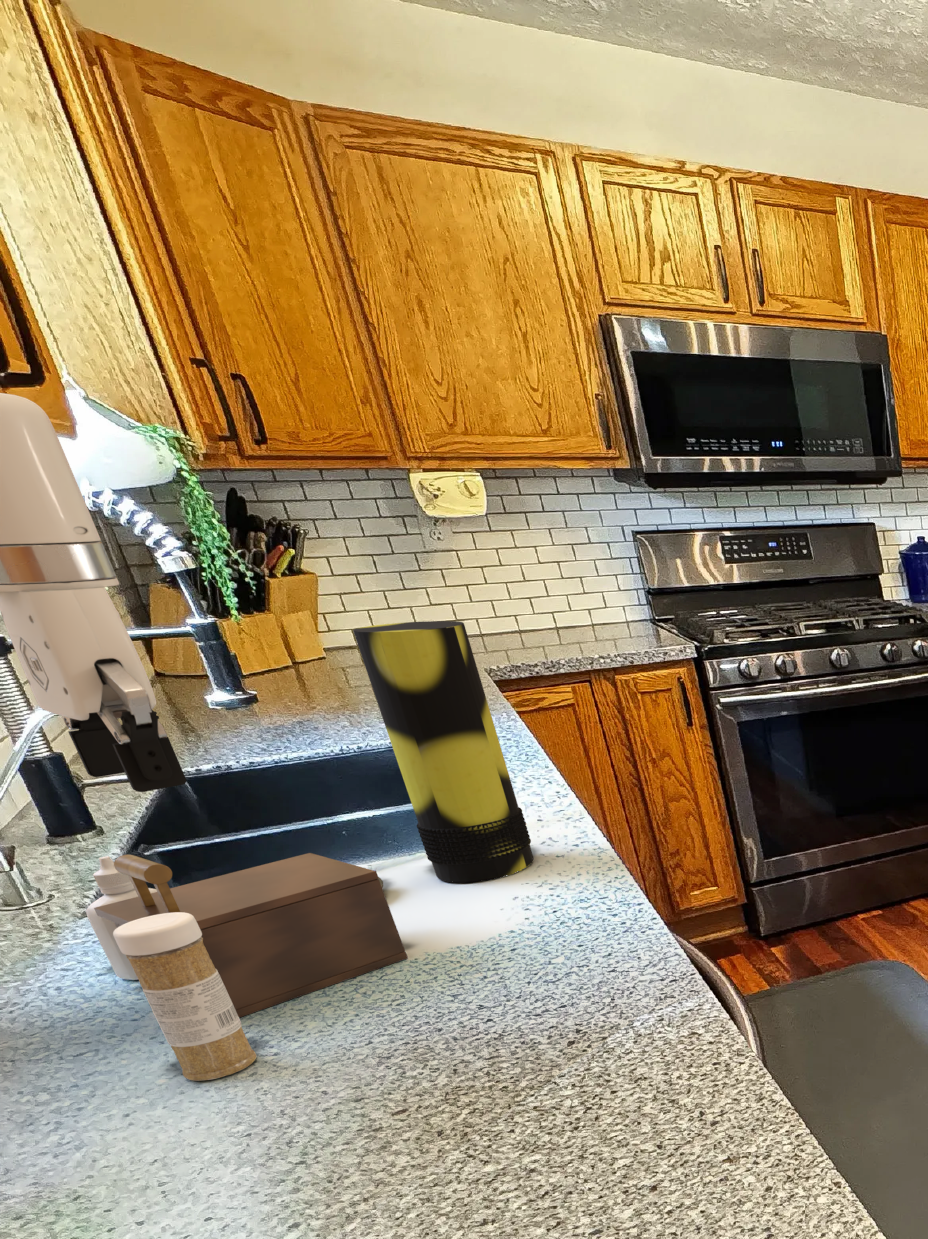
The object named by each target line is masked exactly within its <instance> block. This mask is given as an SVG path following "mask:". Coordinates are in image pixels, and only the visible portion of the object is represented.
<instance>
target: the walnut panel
mask: <svg viewBox="0 0 928 1239" xmlns="http://www.w3.org/2000/svg"><path fill="white" fill-rule="evenodd" d="M113 862H114V867H115V869H116V870H117V871H118V872H120V873H122V874H125V875H128V876H129V878H130V880H131V882H132V885H133V887H134V889H135V891H136V893H137V895H138V897H135V898H131V899H127V900H123V901H119V902H115V903H111V904H107V905H103V906H99V907H96V908H94V909H95V911H96V914H97V916H100V917H102V918H105V919H107V920H110V921H112V922H115V923H117V924H120V925H123V924H125V923H128V922H131V921H134V920H137V919H140V918H144V917H148V916H152V915H158V914H164V913H173V912H184V913H189V914H191V915H193V916H194V918H195V920H196V922H197V924H198V926H199V928H200V929H204V928H207V927H211V926H214V925H218V924H221V923H225V922H228V921H232V920H235V919H239V918H242V917H246V916H249V915H253V914H256V913H260V912H263V911H267V910H270V909H274V908H277V907H281V906H284V905H288V904H291V903H295V902H298V901H302V900H305V899H308V898H312V897H315V896H319V895H322V894H326V893H329V892H333V891H336V890H340V889H343V888H347V887H350V886H354V885H357V884H361V883H364V882H368V881H371V880H375V879H378V877H379V876H378V873H377V870H373V869H371V868H366V867H362V866H358V865H355V864H352V863H349V862H344V861H341V860H337V859H335V858H334V859H333V858H330V857H328V856H327V857H326V856H322V855H319V854H315V853H312V852H308V853H304V854H300V855H296V856H292V857H288V858H285V859H281V860H276V861H273V862H269V863H268V862H267V863H265V864H261V865H257V866H252V867H249V868H245V869H242V870H237V871H233V872H228V873H226V874H222V875H221V874H220V875H217V876H213V877H210V878H206V879H201V880H198V881H194V882H190V883H187V884H182V885H179V886H175V887H174V886H173V887H170V886H169V884H168V883H169V882H170V881H171V879H172V878H173V871H172V869H171V868H170V867H169V866H167V865H166V864H162V863H159V862H156V861H153V860H149V859H147V858H144V857H141V856H138V855H135V854H122V855H120V856H118V857H117V858H116V859H115V860H114V861H113ZM147 883H149V884H152V885H153V887H154V889H156V890H157V892H154V893H150V891H149V889H148V888H149V887H148V885H147Z"/></svg>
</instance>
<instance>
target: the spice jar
mask: <svg viewBox="0 0 928 1239" xmlns="http://www.w3.org/2000/svg"><path fill="white" fill-rule="evenodd" d="M113 936H114V938H115V940H116V943H117V945H118V947H119V949H120V951H121V952H122V953H123V954H125V955H126V957H127V958H128V959H129V961H130V963H131V965H132V967H133V969H134V972H135V973H136V975H137V977H138V981H139V984H140V986H141V988H142V992H143V994H144V997H145V998H146V1000H147V1003H148V1004H149V1006H150V1008H151V1011H152V1013H153V1015H154V1017H155V1020H156V1022H157V1024H158V1025H159V1028H160V1030H161V1032H162V1033H163V1036H164V1038H165V1040H166V1042H167V1044H168V1045H170V1048H171V1050H172V1051H173V1053H174V1055H175V1057H176V1059H177V1061H178V1063H179V1066H180V1067H181V1069H182V1076H183V1077H184V1078H185V1079H187V1080H189V1081H198V1082H200V1081H210V1080H216V1079H217V1080H218V1079H220V1078H224V1077H226V1076H230V1075H234V1074H236V1073H238V1072H240V1071H242V1070H244V1069H246V1068H248V1067H250V1066H251V1065H252V1064H253V1063H254V1062H255V1061H256V1059H257V1054H256V1052H255V1050H254V1049H253V1048H252V1046H251V1045H250V1043H249V1041H248V1037H247V1036H246V1035H245V1034H246V1033H245V1032H244V1028H243V1027H242V1026H243V1025H242V1021H241V1019H240V1018H239V1017H238V1015H237V1012H236V1010H235V1008H234V1006H233V1003H232V1001H231V999H230V997H229V995H228V992H227V990H226V988H225V986H224V984H223V981H222V979H221V977H220V975H219V973H218V971H217V969H215V967H214V965H213V963H212V961H211V959H210V957H209V954H208V952H207V950H206V948H205V946H204V944H203V938H202V937H201V936H202V932H201V930H200V928H199V926H198V924H197V922H196V920H195V918H194V916H193V915H191V914H189V913H184V912H173V913H164V914H158V915H152V916H148V917H144V918H140V919H137V920H134V921H131V922H128V923H125V924H123V925H121V926H119V927H118V928H116V929H115V930H114V932H113Z"/></svg>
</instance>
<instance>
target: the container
mask: <svg viewBox="0 0 928 1239" xmlns="http://www.w3.org/2000/svg"><path fill="white" fill-rule="evenodd" d="M352 633H353V636H354V638H355V640H356V644H357V646H358V650H359V652H360V656H361V659H362V661H363V664H364V668H365V670H366V673H367V677H368V679H369V682H370V685H371V687H372V691H373V694H374V697H375V700H376V703H377V705H378V708H379V712H380V714H381V717H382V720H383V723H384V726H385V730H386V733H387V735H388V739H389V741H390V744H391V747H392V750H393V753H394V755H395V758H396V762H397V765H398V768H399V771H400V774H401V776H402V779H403V782H404V785H405V788H406V792H407V794H408V797H409V800H410V804H411V805H412V809H413V812H414V815H415V818H416V820H417V824H416V828H417V830H418V832H417V833H418V834H419V837H420V841H421V842H422V846H423V849H424V851H425V855H426V858H427V860H428V861H429V862H431V865H432V867H433V871H434V873H435V875H436V877H437V879H438V880H440V881H443V882H446V883H450V884H451V883H452V884H469V883H470V884H471V883H479V882H487V881H491V880H490V879H492V880H497V879H501V878H504V877H503V876H505V877H507V876H506V875H508V876H512V875H514V873H515V872H517V871H519V872H521V871H523V870H522V869H524V868H526V867H527V868H529V867H530V866H531V865H532V864H533V863H534V859H535V858H534V855H533V851H532V848H531V844H532V839H531V838H530V834H529V830H528V826H527V823H526V821H525V817H524V813H523V809H522V808H521V807H519V804H518V800H517V797H516V794H515V790H514V787H513V784H512V781H511V777H510V773H509V771H508V768H507V764H506V760H505V757H504V753H503V750H502V747H501V744H500V740H499V736H498V734H497V730H496V725H495V723H494V720H493V717H492V713H491V709H490V706H489V703H488V700H487V696H486V693H485V690H484V686H483V683H482V680H481V676H480V673H479V669H478V665H477V663H476V659H475V656H474V652H473V648H472V645H471V642H470V639H469V636H468V632H467V629H466V625H465V623H464V622H463V621H457V620H432V621H431V620H428V621H423V620H422V621H409V622H408V621H406V622H396V623H383V624H374V625H368V626H362V627H361V626H360V627H356V628H354V629H353V630H352ZM530 864H531V865H530ZM529 865H530V866H529ZM528 866H529V867H528ZM527 868H526V869H527ZM524 870H525V869H524ZM517 873H518V872H517ZM515 874H516V873H515ZM500 877H501V878H500Z"/></svg>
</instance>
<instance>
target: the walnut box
mask: <svg viewBox="0 0 928 1239" xmlns="http://www.w3.org/2000/svg"><path fill="white" fill-rule="evenodd" d="M114 923H115V922H114ZM115 925H116V927H117V928H118V927H119V926H121V925H120V924H117V923H115ZM200 930H201V932H202V936H201V937H202V938H203V944H204V946H205V948H206V950H207V952H208V954H209V957H210V959H211V961H212V963H213V965H214V967H215V969H217V971H218V973H219V975H220V977H221V979H222V981H223V984H224V986H225V988H226V990H227V992H228V995H229V997H230V999H231V1001H232V1003H233V1006H234V1008H235V1010H236V1012H237V1015H238V1017H239V1019H240V1018H243V1017H246V1016H248V1015H252V1014H253V1013H256V1012H257V1013H258V1012H260V1011H262V1010H265V1009H269V1008H270V1007H273V1006H276V1005H279V1004H282V1003H285V1002H288V1001H291V1000H293V999H296V998H299V997H302V996H306V995H308V994H311V993H313V992H316V991H320V990H322V989H325V988H327V987H331V986H333V985H336V984H340V983H341V982H345V981H347V980H351V979H353V978H356V977H359V976H362V975H364V974H368V973H370V972H374V971H376V970H379V969H381V968H384V967H387V966H391V965H393V964H396V963H398V962H402V961H405V960H407V959H409V958H408V954H407V953H406V949H405V947H404V944H403V940H402V939H401V936H400V932H399V930H398V928H397V925H396V922H395V919H394V917H393V913H392V911H391V909H390V906H389V903H388V900H387V897H386V896H385V892H384V890H383V888H382V887H381V884H380V881H379V879H375V880H371V881H368V882H364V883H361V884H357V885H354V886H350V887H347V888H343V889H340V890H336V891H333V892H329V893H326V894H322V895H319V896H315V897H312V898H308V899H305V900H302V901H298V902H295V903H291V904H288V905H284V906H281V907H277V908H274V909H270V910H267V911H263V912H260V913H256V914H253V915H249V916H246V917H242V918H239V919H235V920H232V921H228V922H225V923H221V924H218V925H214V926H211V927H207V928H204V929H200Z"/></svg>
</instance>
